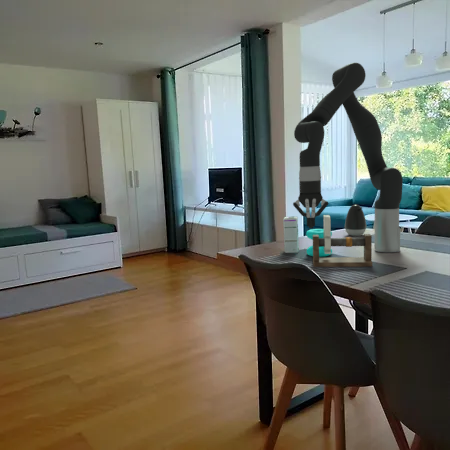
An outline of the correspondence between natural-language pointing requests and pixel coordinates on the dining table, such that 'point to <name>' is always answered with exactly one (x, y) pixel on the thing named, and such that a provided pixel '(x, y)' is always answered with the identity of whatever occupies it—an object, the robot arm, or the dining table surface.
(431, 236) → the dining table surface
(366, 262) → the pipe stand
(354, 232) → the dark grey egg shape
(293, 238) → the syrup box
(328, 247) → the white tall bar
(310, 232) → the donuts
